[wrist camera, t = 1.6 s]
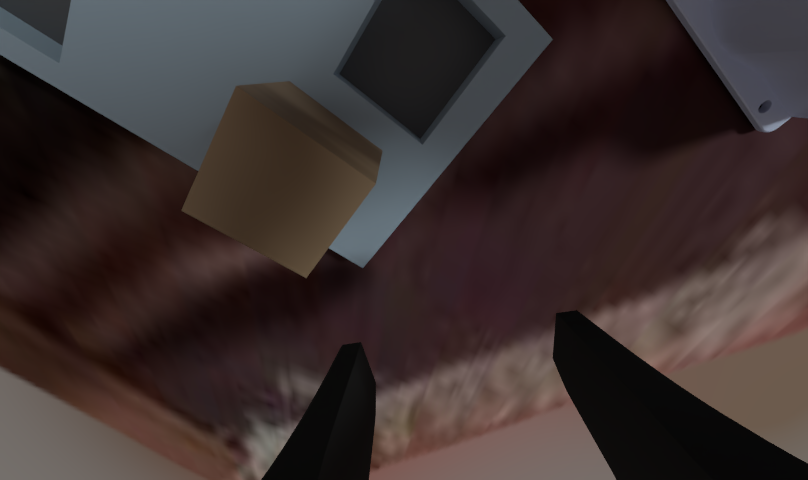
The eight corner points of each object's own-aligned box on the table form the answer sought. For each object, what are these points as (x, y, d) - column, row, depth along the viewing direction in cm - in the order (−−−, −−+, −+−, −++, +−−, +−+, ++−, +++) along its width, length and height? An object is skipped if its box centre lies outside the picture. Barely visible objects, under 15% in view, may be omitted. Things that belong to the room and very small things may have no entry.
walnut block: (382, 150, 13) (376, 183, 9) (330, 224, 15) (306, 278, 11) (289, 81, 12) (236, 85, 8) (243, 170, 14) (181, 210, 10)
